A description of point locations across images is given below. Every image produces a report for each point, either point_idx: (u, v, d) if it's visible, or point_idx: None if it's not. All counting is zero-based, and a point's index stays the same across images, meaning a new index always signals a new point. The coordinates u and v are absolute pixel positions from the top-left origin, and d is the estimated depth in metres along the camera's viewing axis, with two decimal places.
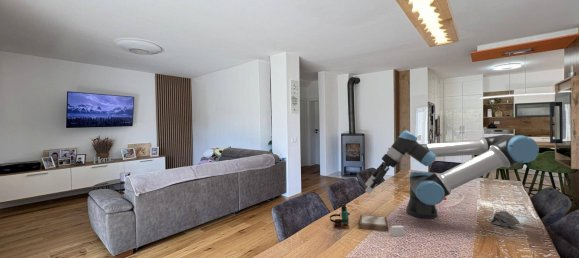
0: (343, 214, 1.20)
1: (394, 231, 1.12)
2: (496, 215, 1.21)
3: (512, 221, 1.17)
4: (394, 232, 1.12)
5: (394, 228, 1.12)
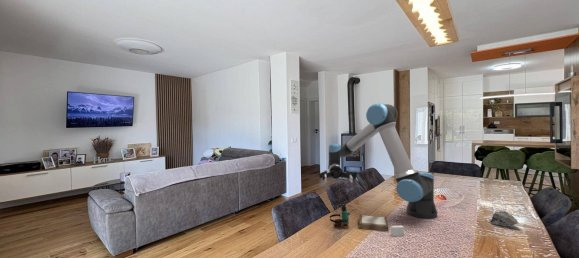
0: (343, 214, 1.20)
1: (394, 231, 1.12)
2: (495, 215, 1.21)
3: (511, 221, 1.17)
4: (394, 232, 1.12)
5: (394, 228, 1.12)
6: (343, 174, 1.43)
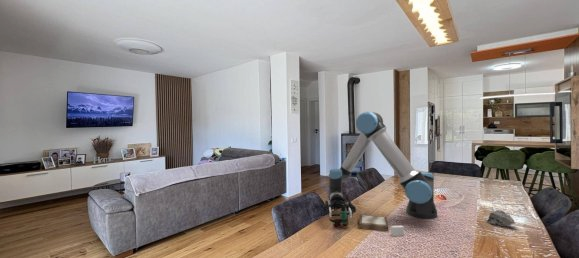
0: (342, 214, 1.20)
1: (394, 231, 1.12)
2: (491, 214, 1.22)
3: (507, 220, 1.18)
4: (394, 232, 1.12)
5: (394, 228, 1.12)
6: None
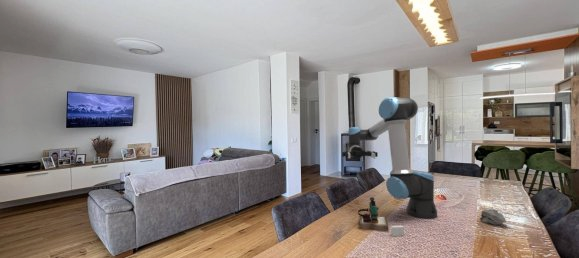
0: (373, 208, 1.19)
1: (394, 231, 1.12)
2: (483, 212, 1.25)
3: (498, 219, 1.20)
4: (394, 232, 1.12)
5: (394, 228, 1.12)
6: (365, 153, 1.51)
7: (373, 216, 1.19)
